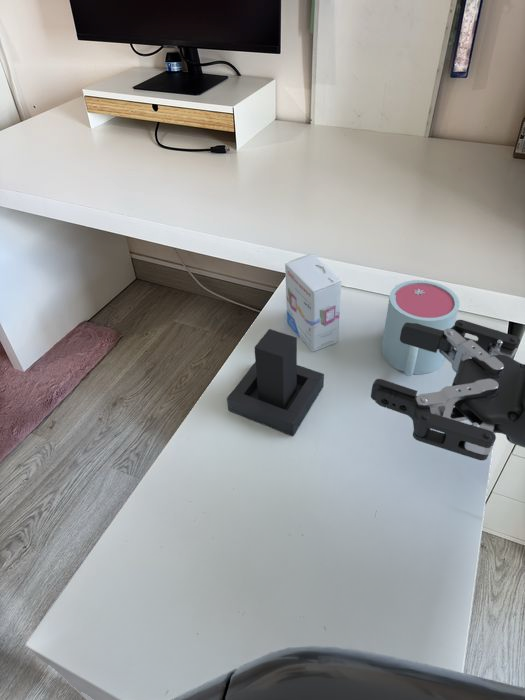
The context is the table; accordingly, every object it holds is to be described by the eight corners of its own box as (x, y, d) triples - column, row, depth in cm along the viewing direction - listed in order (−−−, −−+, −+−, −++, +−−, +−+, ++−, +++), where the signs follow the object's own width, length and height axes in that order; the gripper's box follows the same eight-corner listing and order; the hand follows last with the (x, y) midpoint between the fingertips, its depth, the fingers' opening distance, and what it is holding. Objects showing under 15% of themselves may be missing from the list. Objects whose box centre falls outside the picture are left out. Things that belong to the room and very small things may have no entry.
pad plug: (284, 410, 68) (282, 356, 61) (258, 400, 70) (254, 347, 63) (296, 390, 71) (297, 337, 64) (271, 381, 72) (269, 328, 65)
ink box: (284, 322, 83) (283, 260, 75) (310, 312, 84) (312, 251, 76) (312, 353, 77) (313, 290, 69) (339, 342, 78) (344, 279, 70)
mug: (387, 327, 80) (395, 275, 74) (447, 339, 78) (462, 286, 71) (369, 387, 71) (377, 334, 64) (437, 403, 69) (453, 349, 62)
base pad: (293, 436, 66) (293, 424, 64) (228, 410, 69) (226, 398, 67) (323, 386, 72) (324, 373, 70) (262, 365, 75) (261, 352, 74)
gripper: (602, 332, 43) (415, 285, 49) (593, 455, 34) (365, 380, 40) (569, 391, 48) (403, 342, 54) (554, 512, 39) (357, 437, 45)
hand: (387, 358), depth 47 cm, fingers open, 8 cm apart
